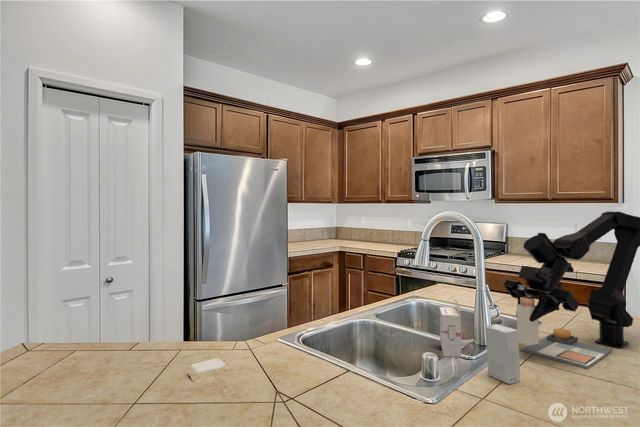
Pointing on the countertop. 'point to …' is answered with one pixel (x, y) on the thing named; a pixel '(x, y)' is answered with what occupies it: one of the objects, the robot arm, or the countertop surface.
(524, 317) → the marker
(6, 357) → the countertop surface
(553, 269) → the robot arm
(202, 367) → the soap
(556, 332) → the button
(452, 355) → the ink cartridge box
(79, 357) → the countertop surface
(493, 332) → the skincare box
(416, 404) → the countertop surface
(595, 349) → the grey flat board
